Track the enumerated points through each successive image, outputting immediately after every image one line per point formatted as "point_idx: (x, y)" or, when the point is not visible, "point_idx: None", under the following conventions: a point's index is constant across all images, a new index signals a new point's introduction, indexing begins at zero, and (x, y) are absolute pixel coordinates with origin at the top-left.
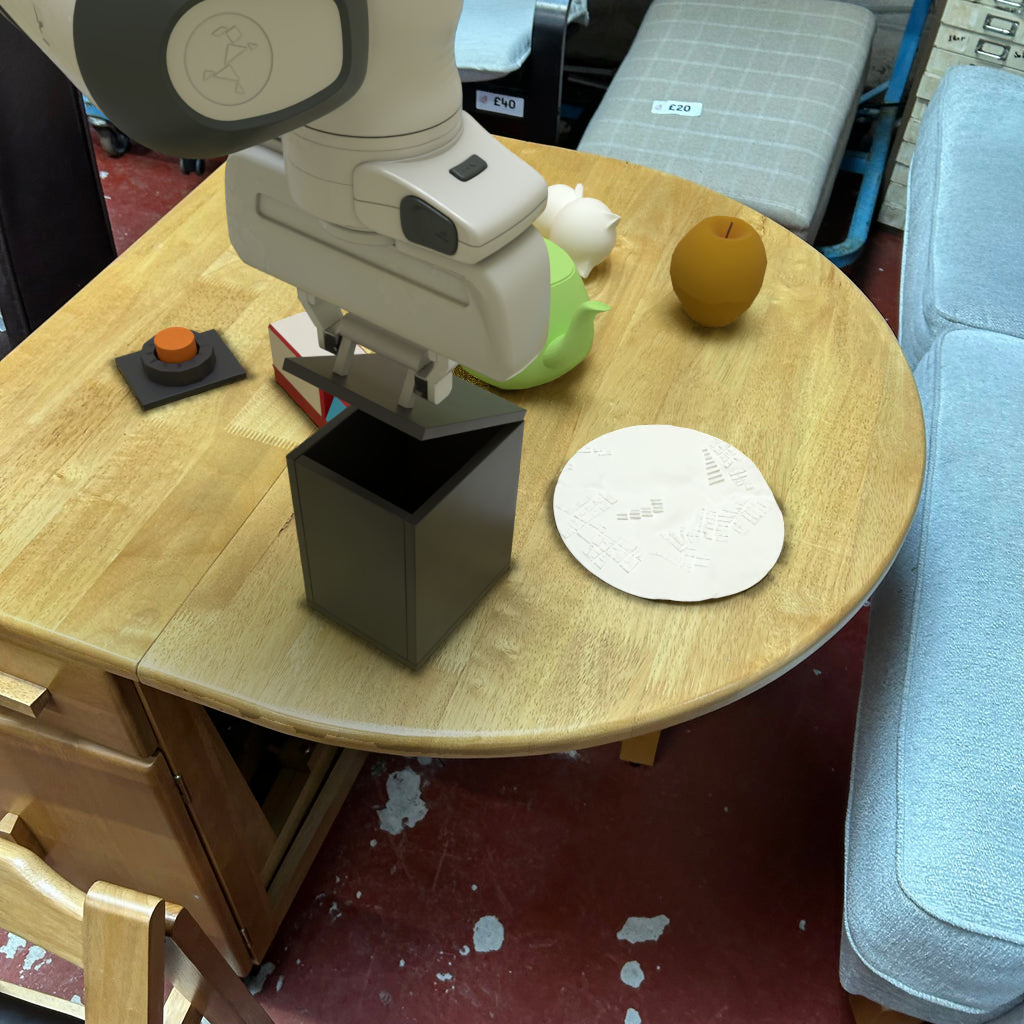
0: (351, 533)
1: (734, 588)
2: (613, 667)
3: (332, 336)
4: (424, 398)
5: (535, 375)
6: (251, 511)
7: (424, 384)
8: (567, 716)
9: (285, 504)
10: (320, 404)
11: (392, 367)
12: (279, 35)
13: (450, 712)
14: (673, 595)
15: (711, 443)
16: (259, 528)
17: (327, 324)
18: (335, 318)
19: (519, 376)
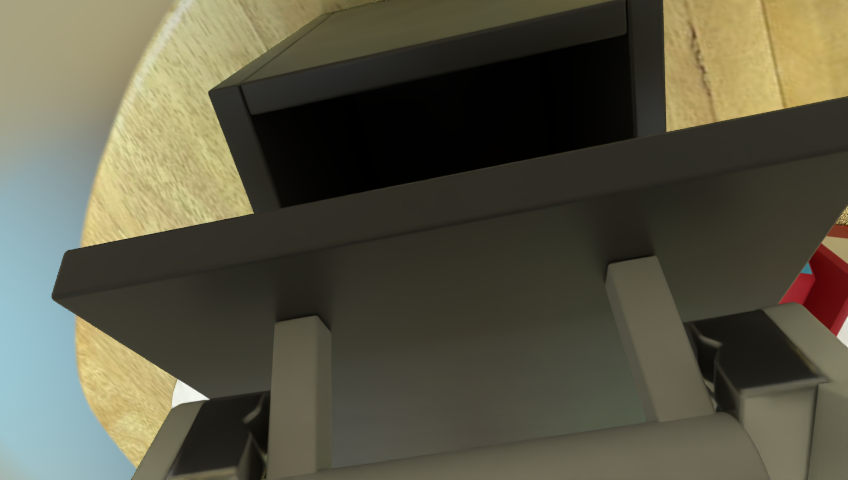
0: (427, 20)
1: (177, 402)
2: (169, 225)
3: (753, 384)
4: (222, 398)
5: None
6: (767, 20)
7: (186, 455)
8: (136, 128)
9: (730, 75)
10: (825, 246)
11: (615, 398)
12: None
13: (231, 5)
14: None
15: None
16: (728, 6)
17: (832, 423)
18: (828, 471)
19: None
